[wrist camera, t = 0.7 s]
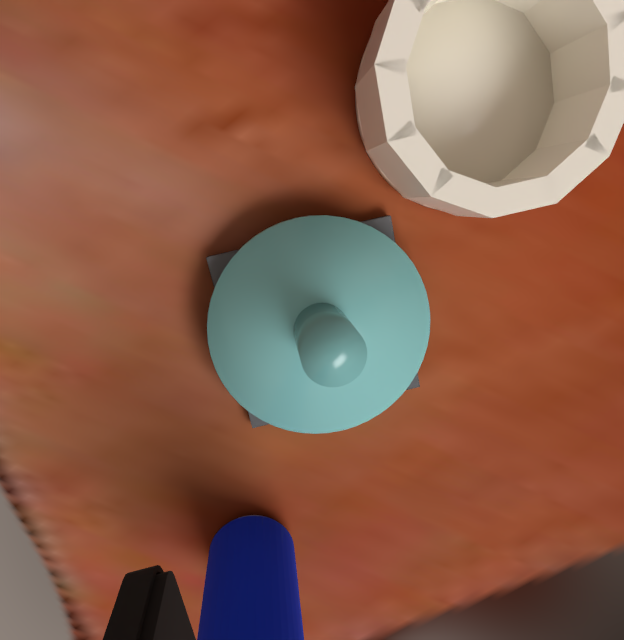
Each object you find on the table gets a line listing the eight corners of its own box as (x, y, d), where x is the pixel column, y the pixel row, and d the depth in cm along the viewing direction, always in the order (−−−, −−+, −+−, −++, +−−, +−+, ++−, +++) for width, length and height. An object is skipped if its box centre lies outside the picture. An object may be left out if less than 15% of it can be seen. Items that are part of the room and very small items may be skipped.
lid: (405, 192, 26) (443, 190, 21) (438, 397, 29) (479, 441, 24) (182, 243, 25) (162, 253, 20) (239, 447, 28) (235, 504, 23)
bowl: (557, -46, 25) (630, -107, 20) (574, 186, 27) (642, 183, 23) (335, -1, 24) (355, -53, 19) (376, 232, 27) (403, 238, 22)
